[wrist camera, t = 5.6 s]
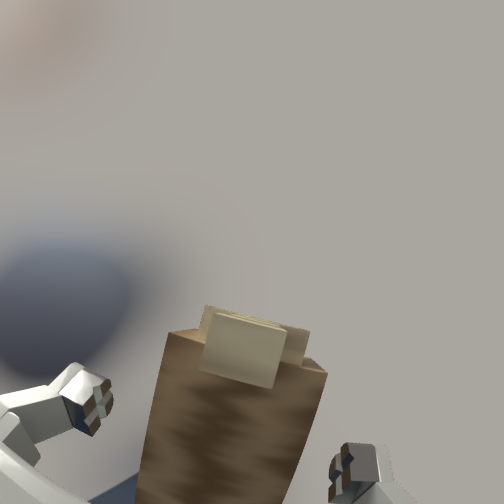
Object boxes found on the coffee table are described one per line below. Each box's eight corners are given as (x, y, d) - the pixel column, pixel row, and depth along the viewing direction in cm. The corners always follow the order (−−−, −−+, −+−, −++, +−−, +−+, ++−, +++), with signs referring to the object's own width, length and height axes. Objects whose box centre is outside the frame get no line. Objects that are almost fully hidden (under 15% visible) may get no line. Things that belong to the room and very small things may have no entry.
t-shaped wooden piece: (211, 334, 26) (218, 307, 27) (293, 355, 25) (300, 328, 26) (147, 352, 11) (162, 295, 12) (326, 400, 11) (342, 341, 11)
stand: (242, 549, 21) (310, 358, 26) (236, 591, 13) (327, 373, 18) (151, 523, 22) (195, 328, 27) (127, 560, 14) (168, 332, 19)
